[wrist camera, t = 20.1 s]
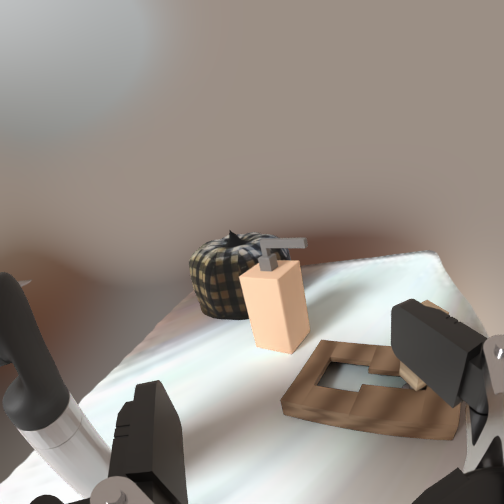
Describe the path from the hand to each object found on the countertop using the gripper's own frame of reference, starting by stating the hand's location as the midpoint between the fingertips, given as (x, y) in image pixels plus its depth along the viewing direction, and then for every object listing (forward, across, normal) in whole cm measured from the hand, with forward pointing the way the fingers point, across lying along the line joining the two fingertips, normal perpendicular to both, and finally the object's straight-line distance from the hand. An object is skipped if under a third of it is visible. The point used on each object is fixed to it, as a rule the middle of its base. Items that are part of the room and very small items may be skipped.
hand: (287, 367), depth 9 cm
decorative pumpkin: (+72, -6, +30) cm, 79 cm away
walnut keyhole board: (+21, -18, +30) cm, 41 cm away
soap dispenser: (+44, -11, +30) cm, 54 cm away
